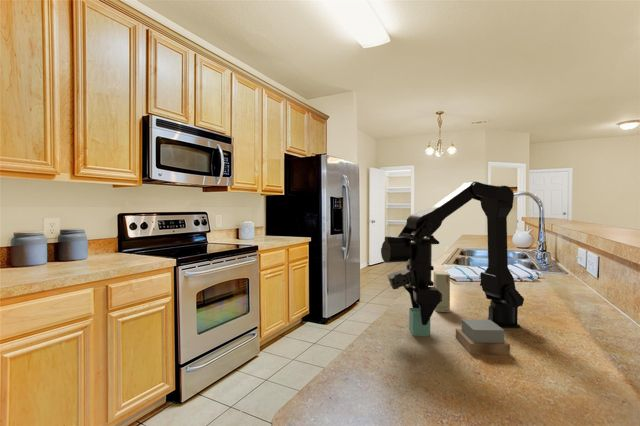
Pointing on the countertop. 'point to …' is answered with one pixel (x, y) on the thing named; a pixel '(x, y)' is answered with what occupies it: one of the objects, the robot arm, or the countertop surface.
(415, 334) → the pillar block
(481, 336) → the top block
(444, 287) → the skincare box
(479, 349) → the bottom block
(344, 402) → the countertop surface
